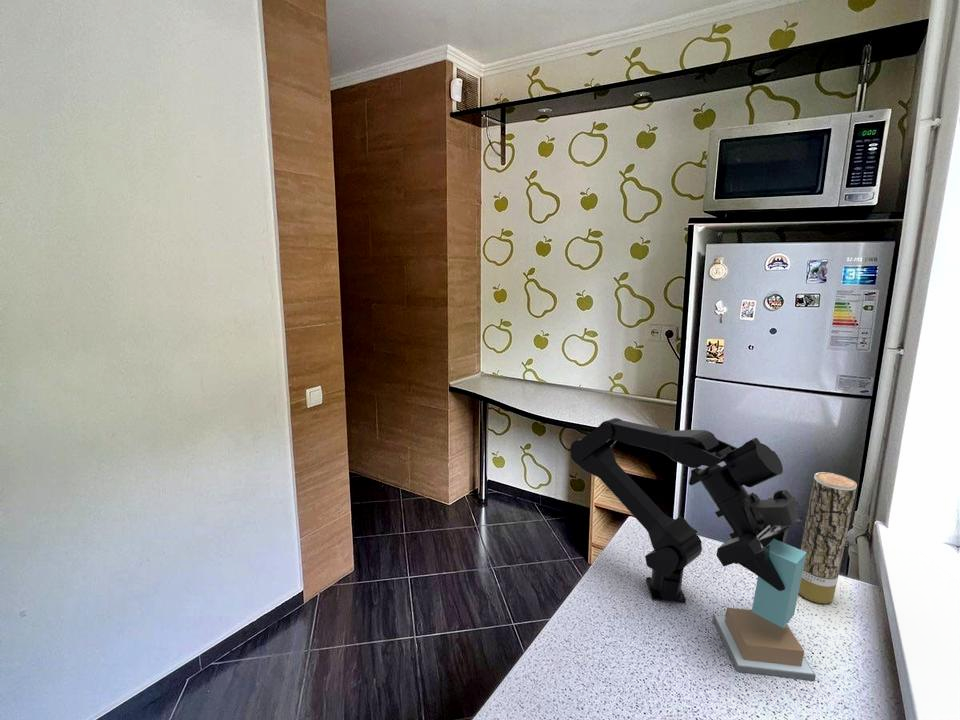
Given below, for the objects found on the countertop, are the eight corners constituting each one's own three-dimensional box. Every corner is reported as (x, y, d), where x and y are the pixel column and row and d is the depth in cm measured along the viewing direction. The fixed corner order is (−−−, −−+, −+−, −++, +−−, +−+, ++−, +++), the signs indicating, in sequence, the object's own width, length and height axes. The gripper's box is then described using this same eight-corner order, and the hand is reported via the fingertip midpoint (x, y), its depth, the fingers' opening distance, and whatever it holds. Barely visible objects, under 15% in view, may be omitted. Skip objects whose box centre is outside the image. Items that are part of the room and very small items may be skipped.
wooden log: (832, 610, 98) (856, 491, 93) (791, 595, 102) (812, 480, 97) (834, 592, 103) (857, 479, 98) (795, 578, 107) (816, 469, 102)
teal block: (751, 611, 87) (762, 549, 84) (762, 599, 90) (774, 538, 88) (783, 628, 83) (796, 563, 81) (794, 614, 87) (806, 552, 84)
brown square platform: (712, 619, 95) (715, 600, 94) (780, 626, 93) (784, 607, 92) (736, 671, 83) (740, 650, 82) (814, 680, 82) (819, 659, 81)
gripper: (747, 495, 78) (815, 595, 73) (789, 464, 90) (851, 548, 85) (691, 520, 86) (749, 612, 80) (737, 488, 98) (791, 567, 92)
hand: (788, 583), depth 84 cm, fingers closed on teal block, 5 cm apart
